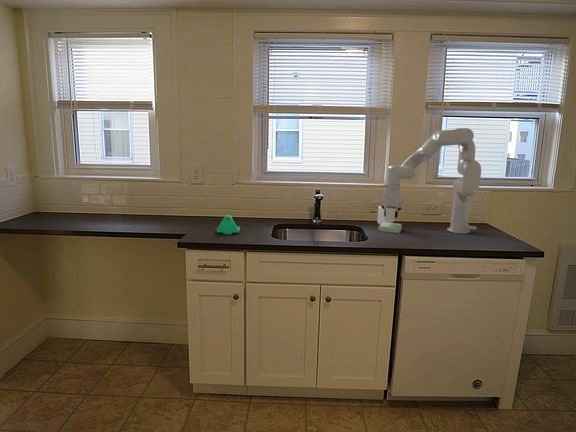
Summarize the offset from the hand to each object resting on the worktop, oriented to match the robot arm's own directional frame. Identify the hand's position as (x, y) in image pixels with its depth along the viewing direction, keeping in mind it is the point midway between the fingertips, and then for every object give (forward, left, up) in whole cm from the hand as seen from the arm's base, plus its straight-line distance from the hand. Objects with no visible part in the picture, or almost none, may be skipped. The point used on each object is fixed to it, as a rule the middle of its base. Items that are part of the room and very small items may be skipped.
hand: (390, 217), depth 240 cm
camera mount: (+83, +46, -8) cm, 95 cm away
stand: (0, 0, -8) cm, 8 cm away
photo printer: (+5, -14, -8) cm, 17 cm away
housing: (0, 0, -1) cm, 1 cm away
